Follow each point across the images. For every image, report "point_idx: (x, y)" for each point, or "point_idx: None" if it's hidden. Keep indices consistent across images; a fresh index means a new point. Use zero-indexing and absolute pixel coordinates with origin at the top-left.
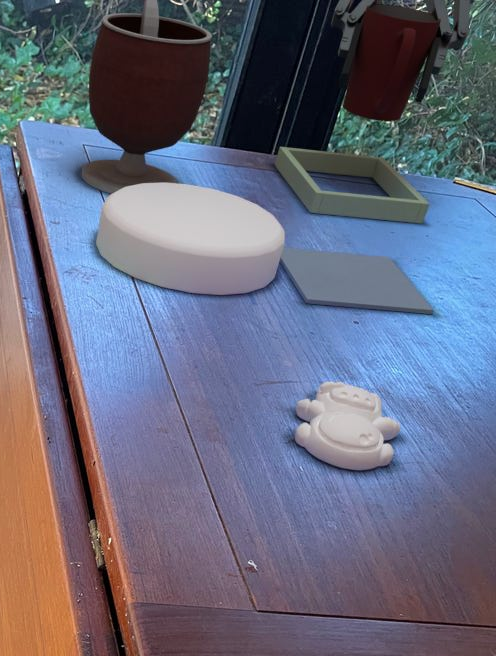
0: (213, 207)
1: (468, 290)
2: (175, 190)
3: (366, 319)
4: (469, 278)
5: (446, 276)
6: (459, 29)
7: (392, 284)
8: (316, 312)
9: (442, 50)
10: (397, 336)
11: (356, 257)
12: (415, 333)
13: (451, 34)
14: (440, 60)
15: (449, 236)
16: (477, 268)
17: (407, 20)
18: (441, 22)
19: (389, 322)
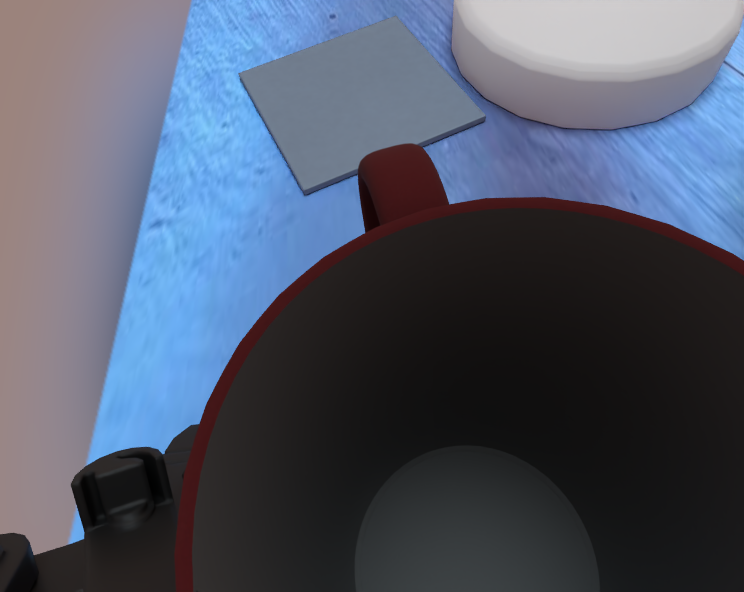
0: (587, 6)
1: (177, 174)
2: (673, 22)
3: (321, 28)
4: (168, 217)
5: (207, 201)
6: (6, 570)
7: (295, 105)
8: (379, 12)
9: (174, 481)
10: (283, 15)
11: (357, 156)
12: (263, 31)
13: (103, 461)
14: (191, 443)
15: (177, 407)
16: (144, 268)
17: (446, 205)
18: (166, 584)
19: (294, 36)
